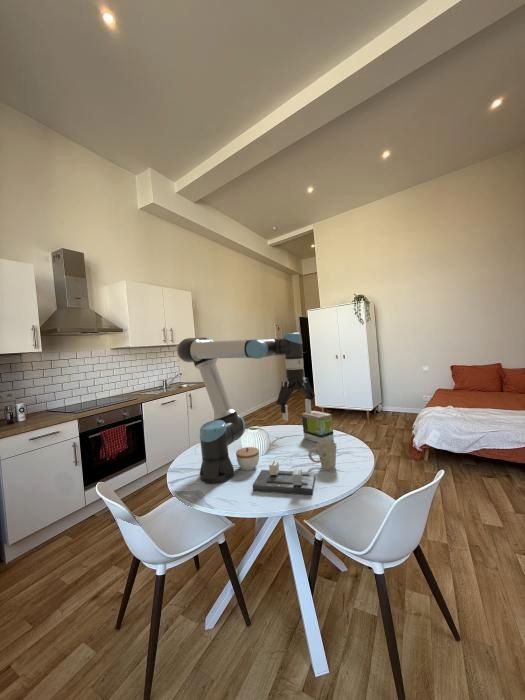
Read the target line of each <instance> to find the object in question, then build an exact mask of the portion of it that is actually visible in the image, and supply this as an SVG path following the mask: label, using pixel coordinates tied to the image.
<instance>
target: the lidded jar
mask: <svg viewBox="0 0 525 700" xmlns="http://www.w3.org/2000/svg"><path fill="white" fill-rule="evenodd" d="M235 455H236V461H237V464H238V466H239V467H240V469H242V470H243V471H253V470H254V469H256V467H257V466H258V464H259V462H260V450H259V448H258V447H255V446H248V447H243V448H240V449H238V450H236V452H235Z"/></svg>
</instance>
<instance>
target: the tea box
mask: <svg viewBox="0 0 525 700" xmlns="http://www.w3.org/2000/svg"><path fill="white" fill-rule="evenodd" d="M301 417H302V430H303V439H306V440H309V441H312V442H314V443H317V444H318V443H319V442H323V441H331V442H333V441H334V437H335V436H334V426H333V414H331V413H328V412H322V411H317V410H311V414H306V412H303V413H302V414H301Z"/></svg>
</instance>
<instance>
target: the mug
mask: <svg viewBox="0 0 525 700" xmlns="http://www.w3.org/2000/svg"><path fill="white" fill-rule="evenodd" d="M316 446H317V447H312V448H311V449H310V450H309V452H308V458H309V460H310V461H312V462H313V463H318V464H319V463H320V466H321V468H322V469H323V470H327V471H329V470H334V469H335V468H336V462H337V460H336V459H337V444H336V443H335V442H334V441H323V442H319V443H317V444H316ZM315 451H316V452H317V451H318V456H319V460H315V459H314V458H313V456H312V454H313V452H315Z"/></svg>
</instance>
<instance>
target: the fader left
mask: <svg viewBox="0 0 525 700" xmlns="http://www.w3.org/2000/svg"><path fill="white" fill-rule="evenodd" d="M268 467H269V469H268V470H270V475H277V474H278V472H279V471H280V465H279V461H278V460H271V461H270V463H269V465H268Z"/></svg>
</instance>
